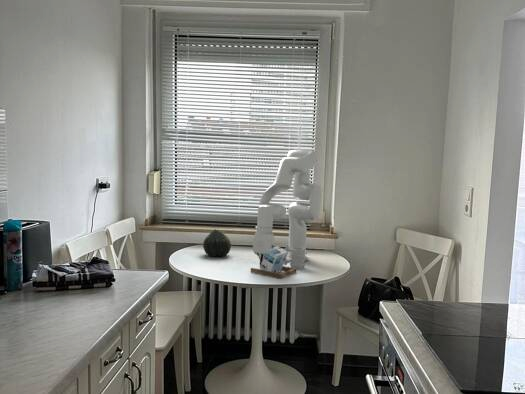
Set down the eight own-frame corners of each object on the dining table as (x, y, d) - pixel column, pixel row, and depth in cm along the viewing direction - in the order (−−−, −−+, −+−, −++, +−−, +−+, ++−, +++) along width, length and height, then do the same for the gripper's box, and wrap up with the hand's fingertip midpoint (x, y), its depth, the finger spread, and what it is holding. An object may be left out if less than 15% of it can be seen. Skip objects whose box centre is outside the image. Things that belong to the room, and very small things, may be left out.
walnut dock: (267, 266, 230) (267, 262, 229) (296, 272, 220) (296, 268, 220) (250, 272, 218) (250, 268, 218) (280, 278, 208) (281, 274, 208)
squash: (225, 250, 239) (229, 226, 248) (198, 249, 242) (203, 226, 251) (230, 263, 250) (234, 240, 259) (204, 262, 253) (209, 239, 262)
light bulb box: (269, 275, 213) (277, 256, 210) (258, 268, 216) (266, 249, 213) (281, 271, 222) (288, 252, 219) (270, 264, 225) (278, 245, 222)
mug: (306, 269, 227) (307, 246, 225) (282, 269, 226) (283, 245, 225) (303, 266, 234) (304, 243, 233) (281, 265, 233) (282, 242, 232)
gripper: (247, 229, 221) (246, 265, 223) (273, 233, 213) (271, 271, 214) (256, 227, 227) (255, 263, 229) (281, 231, 219) (279, 268, 220)
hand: (262, 267), depth 221 cm, fingers closed
